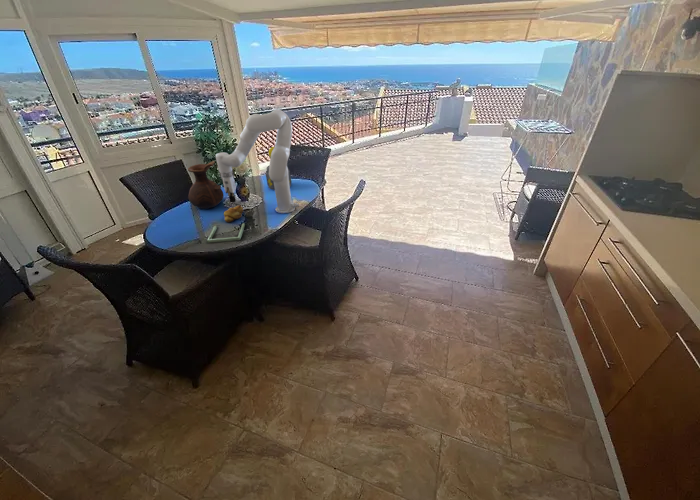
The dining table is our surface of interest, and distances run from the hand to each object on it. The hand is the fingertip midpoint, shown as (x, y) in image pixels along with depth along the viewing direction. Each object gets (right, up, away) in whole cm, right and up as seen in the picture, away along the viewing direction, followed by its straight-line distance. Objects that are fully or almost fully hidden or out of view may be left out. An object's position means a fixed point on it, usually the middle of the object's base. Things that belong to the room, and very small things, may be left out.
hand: (233, 201), depth 189 cm
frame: (+5, -21, -20) cm, 30 cm away
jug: (-22, 0, +13) cm, 25 cm away
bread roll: (+2, -12, -5) cm, 13 cm away
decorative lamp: (+21, +19, +41) cm, 49 cm away
